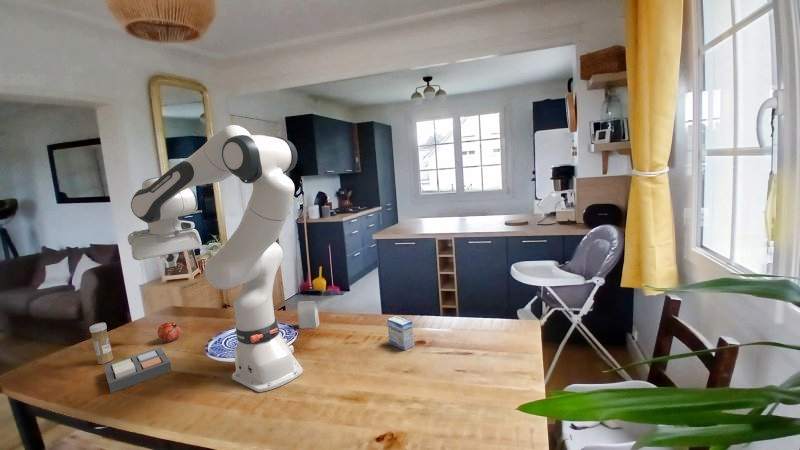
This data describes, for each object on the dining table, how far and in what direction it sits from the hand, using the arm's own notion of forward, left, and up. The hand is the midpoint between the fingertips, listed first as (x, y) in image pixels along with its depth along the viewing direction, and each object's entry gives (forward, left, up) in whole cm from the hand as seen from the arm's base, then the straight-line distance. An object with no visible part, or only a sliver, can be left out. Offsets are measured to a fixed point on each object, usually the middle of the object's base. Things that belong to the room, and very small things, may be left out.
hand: (171, 267), depth 131 cm
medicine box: (-56, -51, -31) cm, 82 cm away
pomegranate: (+18, +2, -31) cm, 36 cm away
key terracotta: (-6, +12, -30) cm, 33 cm away
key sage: (+1, +19, -30) cm, 35 cm away
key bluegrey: (+2, +11, -30) cm, 32 cm away
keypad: (-2, +15, -31) cm, 35 cm away
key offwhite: (-5, +18, -29) cm, 35 cm away
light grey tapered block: (-16, -39, -31) cm, 53 cm away
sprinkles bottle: (+18, +22, -31) cm, 42 cm away
